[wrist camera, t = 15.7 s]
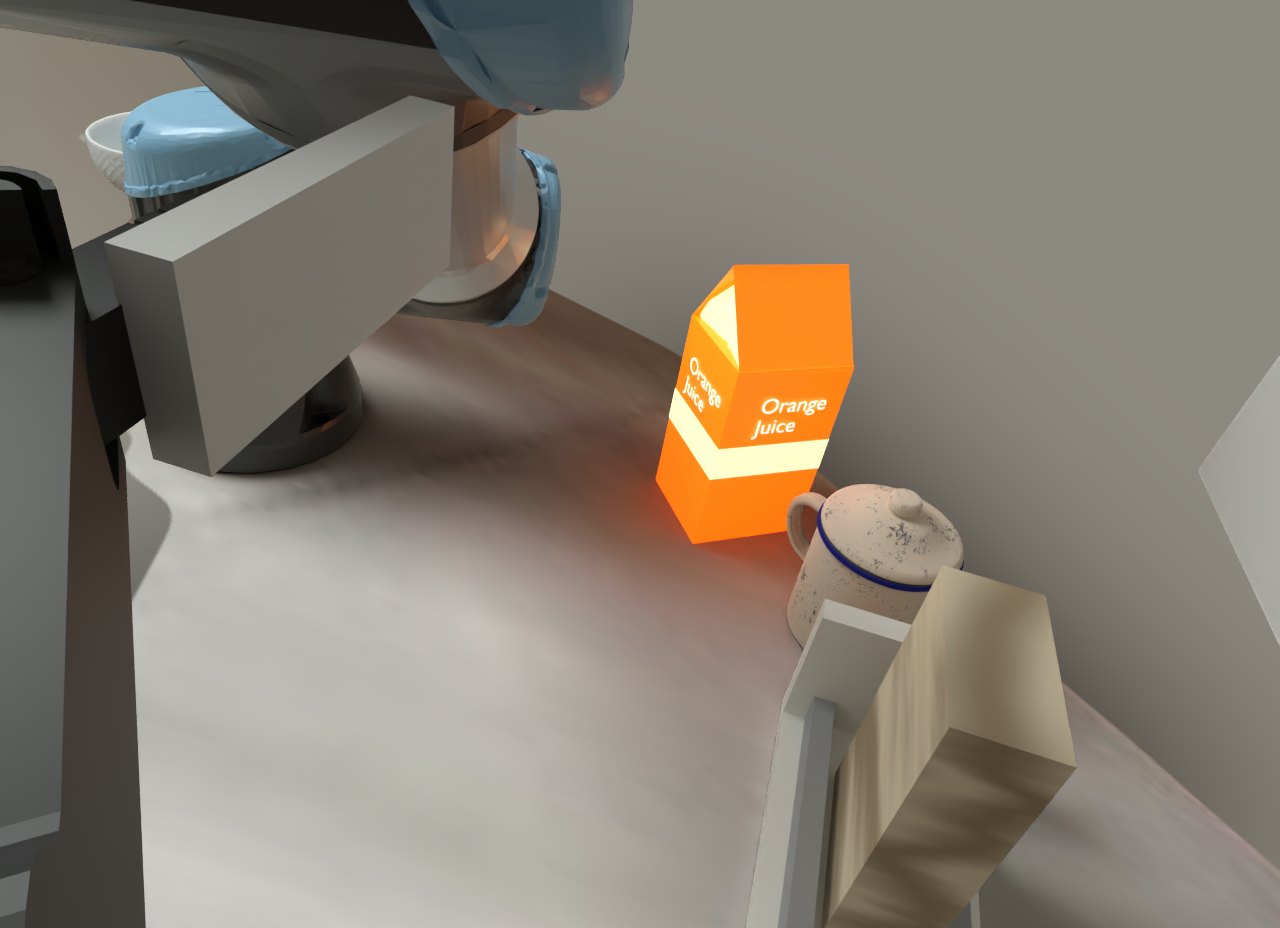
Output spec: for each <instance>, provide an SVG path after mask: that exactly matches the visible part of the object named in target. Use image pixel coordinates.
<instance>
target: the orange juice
mask: <svg viewBox="0 0 1280 928" xmlns="http://www.w3.org/2000/svg"><path fill="white" fill-rule="evenodd" d="M853 369H854V365H853V353H852V328H851V306H850V284H849V265H734V266H733V267H732V269H731V270H730V271H729V272H728V273H727V275H726V276H725V277H724V278H723V279H722V281H721V282H720V283H719V284H718V285H717V286H716V288H715V289H714V290H713V291H712V292H711V294H710V295H709V296H708V297H707V298H706V299H705V301H704V302H703V303H702V304H701V306H700V307H699V308H698V309H697V310H696V311H695V313H694V314H693V315H692V318H691V322H690V327H689V331H688V336H687V340H686V345H685V349H684V354H683V358H682V363H681V367H680V372H679V376H678V381H677V385H676V388H675V391H674V395H673V400H672V404H671V409H670V414H669V421H668V426H667V430H666V435H665V439H664V444H663V448H662V453H661V457H660V462H659V467H658V471H657V476H656V481H657V483H658V485H659V486H660V488H661V490H662V492H663V493H664V495H665V497H666V499H667V500H668V502H669V504H670V505H671V507H672V509H673V511H674V512H675V514H676V516H677V518H678V519H679V521H680V523H681V524H682V526H683V528H684V530H685V531H686V533H687V535H688V537H689V538H690V540H691V542H692V543H693V544H695V543H703V542H710V541H717V540H724V539H731V538H739V537H746V536H753V535H760V534H767V533H775V532H782V531H787V525H786V518H787V511H788V508H789V505H790V503H791V502H792V500H793V499H794V498H795V497H797V496H798V495H801V494H803V493H808V492H809V491H810V488H811V485H812V482H813V480H814V477H815V474H816V471H817V468H819V465H820V463H821V459H822V457H823V454H824V451H825V449H826V446H827V443H828V441H829V439H828V438H829V435H830V433H831V430H832V427H833V424H834V422H835V419H836V416H837V413H838V410H839V408H840V405H841V402H842V399H843V397H844V394H845V391H846V388H847V386H848V383H849V380H850V377H851V375H852V372H853Z"/></svg>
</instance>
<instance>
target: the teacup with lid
mask: <svg viewBox="0 0 1280 928" xmlns="http://www.w3.org/2000/svg"><path fill="white" fill-rule="evenodd" d="M805 505H807V506H810V507H811V508H813V509H814V510H816V511H817V512H818V516H817V528H816V531H815V533H814V536H813V539H812V541H811V544H810V543H809V542H808V540H807V538H806V536H805V533H804V530H803V523H802V517H803V510H804V507H805ZM786 525H787V533H788V537H789V540H790V543H791V545H792V547H793V549H794V550H795V552H796V553H797V554H798V556H799V557H800V558H801V559H802V560H803V561H804V562H803V565H802V567H801V570H800V573H799V575H798V578H797V580H796V583H795V586H794V588H793V591H792V594H791V596H790V599H789V601H788V606H787V618H788V623H789V627H790V629H791V631H792V633H793V635H794V637H795V638H796V640H797V641H798V643H799V644H800V645H801V646H802V647H803V649H804V648H805V645H806V643H807V640H808V638H809V636H810V633H811V631H812V628H813V626H814V624H815V621H816V619H817V616H818V614H819V612H820V609H821V607H822V604H823V602H824V600H825V599H828V600H831V601H835V602H838V603H841V604H844V605H848V606H851V607H854V608H858V609H861V610H864V611H867V612H871V613H874V614H877V615H881V616H884V617H887V618H890V619H894V620H897V621H900V622H904V623H907V624H910V625H912V623H913V622H914V620H915V618H916V616H917V614H918V612H919V610H920V608H921V606H922V604H923V602H924V600H925V598H926V596H927V594H928V592H929V591H930V589H931V587H932V585H933V583H934V581H935V579H936V577H937V575H938V573H939V571H940V569H941V567H942V565H944V566H947V567H951V568H954V569H958V570H961V571H962V568H963V564H964V549H963V544H962V541H961V538H960V536H959V534H958V532H957V530H956V529H955V528H954V526H953V525H952V523H951V522H950V521H949V520H948V519H947V518H946V517H945V516H944V515H943V514H942V513H940V511H938V510H937V509H936V508H934V507H933V506H931V505H930V504H929V503H927V502H925V501H923V500H922V499H921V498H920V497H919V495H918V494H916V493H915V492H913V491H911V490H908V489H902V488H901V489H895V488H891V487H887V486H882V485H874V484H859V485H852V486H848V487H845V488H842V489H840V490H838V491H836V492H835V493H833V494H832V495H831V496H830V497H828V499H826V498H825V497H823V496H822V495H820V494H817V493H813V492H808V493H803V494H801V495H798V496H797V497H795V498H794V499H793V500H792V502H791V503H790V505H789V508H788V511H787V518H786Z"/></svg>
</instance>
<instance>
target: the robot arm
mask: <svg viewBox="0 0 1280 928" xmlns="http://www.w3.org/2000/svg"><path fill="white" fill-rule="evenodd" d="M632 11H633V0H0V28H6V29H13V30H20V31H26V32H33V33H39V34H46V35H53V36H59V37H66V38H74V39H79V40H86V41H94V42H100V43H106V44H113V45H119V46H126V47H133V48H140V49H146V50H153V51H159V52H165V53H169V54H172V55H175V56H179V57H180V58H181V59H182V60H183V61H184V62H185V63H186V64H187V66H188V67H189V68H190V69H191V70H192V71H193V72H194V74H195V75H196V76H197V77H198V78H199V79H200V80H201V81H202V82H203V83H204V84H205V85H206V86H205V87H197V88H191V89H186V90H181V91H177V92H172V93H169V94H165V95H162V96H159V97H157V98H154V99H151V100H149V101H147V102H145V103H143V104H141V105H140V106H138V107H137V108H136V109H134V110H133V111H132V112H131V113H130V114H129V115H128V116H127V118H126V119H125V121H124V123H123V126H122V130H121V144H122V152H123V160H124V168H125V176H126V180H125V182H124V188H125V193H126V194H127V195H128V197H129V201H130V206H131V211H132V216H133V221H134V224H131V223H127V224H125V225H122V226H120V227H118V228H116V229H114V230H112V231H110V232H108V233H106V234H103V235H101V236H99V237H97V238H95V239H93V240H91V241H88V242H86V243H84V244H82V245H80V246H78V247H76V248H74V249H72V248H71V244H70V240H69V236H68V232H67V228H66V224H65V221H64V217H63V213H62V209H61V205H60V201H59V197H58V193H57V189H56V187H55V185H54V183H53V182H52V180H51V179H49V178H47V177H45V176H43V175H41V174H39V173H37V172H35V171H30V170H26V169H20V168H16V167H12V166H0V928H146V925H145V902H144V879H143V855H142V832H141V809H140V786H139V763H138V739H137V716H136V693H135V670H134V646H133V623H132V600H131V577H130V554H129V531H128V508H127V484H126V461H125V457H124V453H123V449H122V445H121V441H120V437H119V436H120V435H121V434H123V433H124V432H125V431H127V430H128V429H129V428H131V427H132V426H134V425H135V424H136V423H138V422H139V421H140V420H142V419H143V418H144V420H145V425H146V429H147V434H148V438H149V442H150V447H151V451H152V455H153V459H155V460H159V461H162V462H165V463H168V464H171V465H175V466H178V467H181V468H184V469H187V470H191V471H194V472H197V473H200V474H204V475H207V476H210V477H212V476H213V475H214V474H215V473H216V472H217V471H223V472H237V473H252V472H266V471H274V470H280V469H286V468H290V467H294V466H298V465H301V464H304V463H308V462H310V461H313V460H316V459H318V458H320V457H322V456H324V455H326V454H328V453H330V452H332V451H334V450H335V449H337V448H338V447H340V446H341V445H342V444H343V443H345V442H346V441H347V440H348V439H349V438H350V437H351V436H352V435H353V434H354V432H355V431H356V429H357V428H358V426H359V424H360V421H361V418H362V390H361V384H360V380H359V377H358V375H357V372H356V370H355V368H354V365H353V363H352V361H351V359H350V356H349V354H350V353H351V352H352V351H354V350H355V349H356V348H357V347H358V346H359V345H360V344H361V343H363V342H364V341H365V340H366V339H367V338H368V337H369V336H370V335H372V334H373V333H374V332H375V331H376V330H377V329H378V328H379V327H381V326H382V325H383V324H384V323H385V322H386V321H387V320H388V319H390V318H391V317H392V316H393V315H394V314H403V315H412V316H421V317H430V318H439V319H448V320H457V321H466V322H475V323H484V324H485V325H486V326H491V327H500V326H503V325H518V326H519V325H526V324H529V323H531V322H533V321H534V320H535V319H536V318H537V317H538V316H539V315H540V313H541V312H542V310H543V307H544V305H545V303H546V300H547V296H548V286H549V285H550V283H551V280H552V276H553V272H554V267H555V261H556V254H557V247H558V239H559V228H560V213H561V212H560V211H561V192H560V184H559V178H558V173H557V169H556V167H555V165H554V163H553V162H552V161H551V160H550V159H548V158H547V157H545V156H542V155H537V154H534V153H532V152H529V151H527V150H526V149H518V148H517V146H516V143H517V120H518V116H519V114H523V115H541V114H545V113H548V112H550V111H553V110H589V109H593V108H596V107H598V106H601V105H603V104H604V103H606V102H607V101H609V100H610V99H611V98H612V97H613V96H614V95H615V94H616V92H617V91H618V90H619V88H620V86H621V84H622V81H623V79H624V73H625V72H624V63H625V59H626V56H627V52H628V48H629V36H630V29H631V22H632ZM1198 472H1199V474H1200V477H1201V479H1202V481H1203V483H1204V485H1205V487H1206V489H1207V492H1208V494H1209V496H1210V498H1211V500H1212V502H1213V505H1214V507H1215V509H1216V511H1217V513H1218V515H1219V517H1220V520H1221V522H1222V524H1223V526H1224V528H1225V530H1226V532H1227V535H1228V537H1229V539H1230V541H1231V543H1232V545H1233V547H1234V550H1235V552H1236V554H1237V556H1238V558H1239V560H1240V562H1241V565H1242V566H1243V569H1244V571H1245V573H1246V575H1247V577H1248V580H1249V582H1250V584H1251V586H1252V588H1253V590H1254V592H1255V595H1256V596H1257V599H1258V601H1259V603H1260V605H1261V607H1262V610H1263V612H1264V614H1265V616H1266V618H1267V620H1268V622H1269V625H1270V627H1271V629H1272V630H1273V633H1274V635H1275V637H1276V640H1277V642H1278V644H1279V646H1280V356H1279V357H1278V359H1277V360H1276V361H1275V363H1274V364H1273V365H1272V367H1271V368H1270V370H1269V371H1268V372H1267V374H1266V375H1265V377H1264V378H1263V379H1262V381H1261V382H1260V384H1259V385H1258V386H1257V388H1256V389H1255V391H1254V392H1253V393H1252V395H1251V396H1250V398H1249V399H1248V400H1247V402H1246V403H1245V404H1244V406H1243V407H1242V409H1241V410H1240V412H1239V413H1238V414H1237V416H1236V417H1235V418H1234V420H1233V421H1232V423H1231V424H1230V426H1229V427H1228V428H1227V430H1226V431H1225V432H1224V434H1223V435H1222V437H1221V438H1220V439H1219V441H1218V442H1217V444H1216V445H1215V446H1214V448H1213V449H1212V451H1211V452H1210V453H1209V455H1208V456H1207V458H1206V459H1205V460H1204V462H1203V463H1202V465H1201V466H1200V467H1199V469H1198Z"/></svg>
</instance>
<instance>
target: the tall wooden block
mask: <svg viewBox="0 0 1280 928" xmlns="http://www.w3.org/2000/svg"><path fill="white" fill-rule="evenodd" d="M1076 768H1077V765H1076V760H1075V754H1074V749H1073V743H1072V738H1071V732H1070V727H1069V721H1068V716H1067V710H1066V705H1065V699H1064V694H1063V688H1062V683H1061V677H1060V672H1059V666H1058V661H1057V655H1056V650H1055V644H1054V639H1053V633H1052V628H1051V622H1050V617H1049V611H1048V606H1047V600H1046V596H1045V595H1042V594H1039V593H1035V592H1032V591H1029V590H1025V589H1022V588H1018V587H1015V586H1012V585H1008V584H1004V583H1001V582H998V581H995V580H991V579H988V578H985V577H981V576H978V575H974V574H971V573H968V572H964V571H961V570H958V569H954V568H951V567H947V566H944V565H942V567H941V569H940V571H939V573H938V575H937V577H936V579H935V581H934V583H933V585H932V587H931V589H930V591H929V592H928V594H927V596H926V598H925V600H924V602H923V604H922V606H921V608H920V610H919V612H918V614H917V616H916V618H915V620H914V622H913V623H912V625H911V627H910V629H909V631H908V633H907V635H906V637H905V639H904V641H903V643H902V645H901V647H900V649H899V651H898V653H897V654H896V656H895V658H894V660H893V662H892V664H891V666H890V668H889V670H888V672H887V674H886V676H885V678H884V680H883V682H882V684H881V685H880V687H879V689H878V691H877V693H876V695H875V697H874V699H873V701H872V703H871V705H870V707H869V709H868V711H867V713H866V715H865V716H864V718H863V720H862V722H861V724H860V726H859V728H858V730H857V732H856V734H855V736H854V738H853V740H852V742H851V744H850V746H849V747H848V749H847V751H846V753H845V755H844V757H843V759H842V761H841V763H840V765H839V767H838V769H837V771H836V773H835V777H834V788H833V799H832V811H831V822H830V833H829V844H828V856H827V867H826V878H825V890H824V901H823V912H822V923H821V928H949V927H950V925H951V924H952V923H953V922H954V920H955V919H956V918H957V917H958V915H959V914H960V913H961V912H962V910H963V909H964V908H965V907H966V905H967V904H968V903H969V902H970V900H971V899H972V898H973V897H974V895H975V894H976V893H977V892H978V890H979V889H980V888H981V887H982V885H983V884H984V883H985V882H986V880H987V879H988V878H989V877H990V875H991V874H992V873H993V872H994V870H995V869H996V868H997V867H998V865H999V864H1000V863H1001V862H1002V860H1003V859H1004V858H1005V857H1006V855H1007V854H1008V853H1009V852H1010V850H1011V849H1012V848H1013V847H1014V845H1015V844H1016V843H1017V842H1018V840H1019V839H1020V838H1021V837H1022V836H1023V834H1024V833H1025V832H1026V831H1027V829H1028V828H1029V827H1030V826H1031V824H1032V823H1033V822H1034V821H1035V819H1036V818H1037V817H1038V816H1039V814H1040V813H1041V812H1042V811H1043V809H1044V808H1045V807H1046V806H1047V804H1048V803H1049V802H1050V801H1051V799H1052V798H1053V797H1054V796H1055V794H1056V793H1057V792H1058V791H1059V789H1060V788H1061V787H1062V786H1063V784H1064V783H1065V782H1066V781H1067V779H1068V778H1069V777H1070V776H1071V774H1072V773H1073V772H1074V771H1075V769H1076Z"/></svg>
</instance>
